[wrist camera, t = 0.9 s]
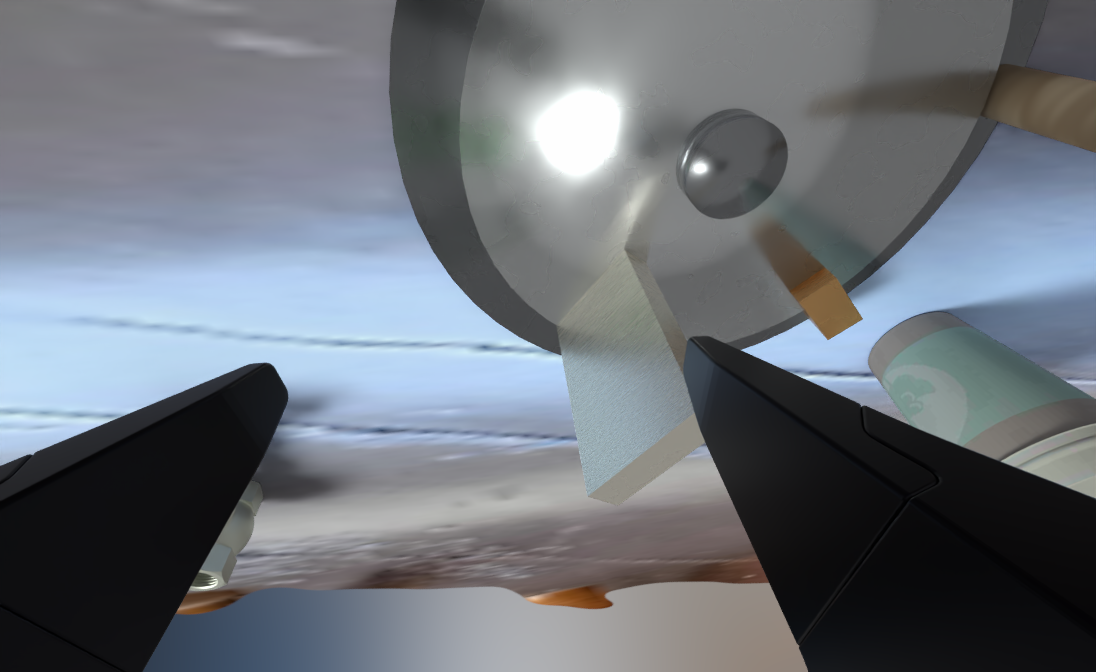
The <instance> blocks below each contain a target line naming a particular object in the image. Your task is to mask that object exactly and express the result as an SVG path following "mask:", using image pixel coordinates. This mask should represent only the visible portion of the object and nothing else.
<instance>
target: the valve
mask: <svg viewBox="0 0 1096 672" xmlns="http://www.w3.org/2000/svg"><path fill="white" fill-rule="evenodd" d="M262 500H263V493H262V489H261V485H260V484H259V483H257V482H254V481H250V483H249V484H248V486H247V488H246V490H245V491H244V493H243V495H242V497H241V499H240V500H239V502H238V504H237V506H236V507H235V509H234V511H233V513H232V514H231V516H230V518H229V520H228V521H227V523H226V525H225V527H224V529H223V530H222V532H221V534H220V536H219V537H218V539H217V541H216V543H215V544H214V546H213V548H212V550H211V552H210V553H209V555H208V557H207V559H206V560H205V562H204V564H203V566H202V567H201V569H200V571H199V573H198V575H197V576H196V578H195V580H194V582H193V583H192V585H191V587H190V589H189V590H193V591H206V590H213V589H217V588H219V587H222V586H224V585H226V584H227V583H228V581H229V579H230V576H231V574H232V571H233V569H234V567H235V564H236V562H237V560H236V557H235V556H236V555H237V554H238V553H239V552H240V551H241V550H242V549H243V548H244V547H245V546H246V544H247V543H248V541H249V539H250V537H251V535H252V532H253V528H254V516H256V514H257V512H258V509H259V507H260V504H261V502H262Z"/></svg>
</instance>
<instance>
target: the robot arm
mask: <svg viewBox="0 0 1096 672" xmlns="http://www.w3.org/2000/svg"><path fill="white" fill-rule="evenodd" d="M683 374H684V379H685V382H686V386H687V389H688V392H689V396H690V399H691V402H692V406H693V409H694V412H695V416H696V419H697V422H698V425H699V428H700V431H701V434H702V436H703V438H704V441H705V443H706V445H707V447H708V449H709V452H710V454H711V456H712V458H713V460H714V463H715V465H716V467H717V469H718V471H719V474H720V476H721V478H722V480H723V482H724V485H725V487H726V489H727V491H728V493H729V496H730V498H731V500H732V502H733V504H734V507H735V509H736V511H737V513H738V515H739V517H740V520H741V522H742V524H743V526H744V528H745V531H746V533H747V535H748V537H749V539H750V542H751V544H752V546H753V548H754V550H755V553H756V555H757V557H758V559H759V561H760V564H761V566H762V568H763V570H764V572H765V575H766V577H767V579H768V581H769V583H770V585H771V588H772V590H773V592H774V594H775V597H776V599H777V601H778V603H779V605H780V607H781V610H782V612H783V614H784V616H785V618H786V621H787V623H788V625H789V627H790V629H791V632H792V634H793V636H794V638H795V640H796V643H797V644H798V645H800V646H799V649H800V652H801V654H802V656H803V659H804V661H805V664H806V666H807V669H808V672H1096V498H1094V497H1091V496H1088V495H1086V494H1083V493H1081V492H1078V491H1076V490H1073V489H1070V488H1068V487H1065V486H1063V485H1060V484H1058V483H1055V482H1052V481H1050V480H1047V479H1045V478H1042V477H1040V476H1037V475H1034V474H1032V473H1029V472H1027V471H1024V470H1022V469H1019V468H1016V467H1014V466H1011V465H1009V464H1006V463H1004V462H1001V461H998V460H996V459H993V458H991V457H988V456H986V455H983V454H980V453H978V452H975V451H973V450H970V449H968V448H965V447H962V446H960V445H957V444H955V443H952V442H950V441H947V440H945V439H942V438H940V437H938V436H935V435H933V434H930V433H928V432H925V431H923V430H920V429H918V428H915V427H913V426H911V425H908V424H906V423H904V422H901V421H899V420H897V419H894V418H892V417H890V416H888V415H885V414H883V413H881V412H879V411H876V410H874V409H872V408H870V407H867V406H862V407H861V405H860V404H859V403H857V402H855V401H852V400H850V399H848V398H846V397H843V396H841V395H839V394H837V393H835V392H832V391H830V390H828V389H826V388H823V387H821V386H819V385H817V384H815V383H812V382H810V381H808V380H806V379H803V378H801V377H799V376H797V375H794V374H792V373H790V372H788V371H786V370H783V369H781V368H779V367H777V366H774V365H772V364H770V363H768V362H766V361H763V360H761V359H759V358H757V357H754V356H752V355H750V354H748V353H745V352H743V351H741V350H739V349H737V348H734V347H732V346H730V345H728V344H725V343H723V342H721V341H719V340H717V339H714V338H712V337H710V336H692V337H690V338H689V339H688V341H687V346H686V352H685V358H684V365H683ZM287 402H288V391H287V389H286V387H285V385H284V383H283V381H282V380H281V378H280V376H279V374H278V373H277V371H276V369H275V368H274V366H273V365H271V364H270V363H253V364H249V365H246V366H244V367H241V368H239V369H236V370H234V371H231V372H229V373H227V374H224V375H222V376H219V377H217V378H214V379H212V380H210V381H207V382H205V383H202V384H200V385H197V386H195V387H193V388H190V389H188V390H185V391H183V392H181V393H178V394H176V395H173V396H171V397H168V398H166V399H164V400H161V401H159V402H156V403H154V404H151V405H149V406H147V407H144V408H142V409H139V410H137V411H134V412H132V413H130V414H127V415H125V416H122V417H120V418H117V419H115V420H113V421H110V422H108V423H105V424H103V425H100V426H98V427H96V428H93V429H91V430H88V431H86V432H83V433H81V434H79V435H76V436H74V437H71V438H69V439H67V440H64V441H62V442H59V443H57V444H54V445H52V446H50V447H47V448H45V449H42V450H40V451H37V452H36V453H34V455H31V454H30V455H26V456H23V457H21V458H18V459H16V460H14V461H11V462H9V463H6V464H4V465H1V466H0V672H143V670H144V668H145V666H146V665H147V663H148V661H149V659H150V657H151V656H152V654H153V652H154V651H155V649H156V647H157V645H158V643H159V642H160V640H161V638H162V636H163V634H164V633H165V631H166V629H167V627H168V626H169V624H170V622H171V620H172V619H173V617H174V615H175V613H176V612H177V610H178V608H179V606H180V605H181V603H182V601H183V599H184V597H185V596H186V594H187V592H188V590H189V589H190V587H191V585H192V583H193V582H194V580H195V578H196V576H197V575H198V573H199V571H200V569H201V567H202V566H203V564H204V562H205V560H206V559H207V557H208V555H209V553H210V552H211V550H212V548H213V546H214V544H215V543H216V541H217V539H218V537H219V536H220V534H221V532H222V530H223V529H224V527H225V525H226V523H227V521H228V520H229V518H230V516H231V514H232V513H233V511H234V509H235V507H236V506H237V504H238V502H239V500H240V499H241V497H242V495H243V493H244V491H245V490H246V488H247V486H248V484H249V483H250V481H251V479H252V477H253V476H254V474H255V472H256V470H257V468H258V467H259V465H260V463H261V461H262V459H263V457H264V455H265V453H266V451H267V449H268V447H269V444H270V442H271V440H272V437H273V435H274V433H275V430H276V428H277V426H278V423H279V421H280V419H281V416H282V414H283V412H284V409H285V407H286V405H287Z"/></svg>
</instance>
